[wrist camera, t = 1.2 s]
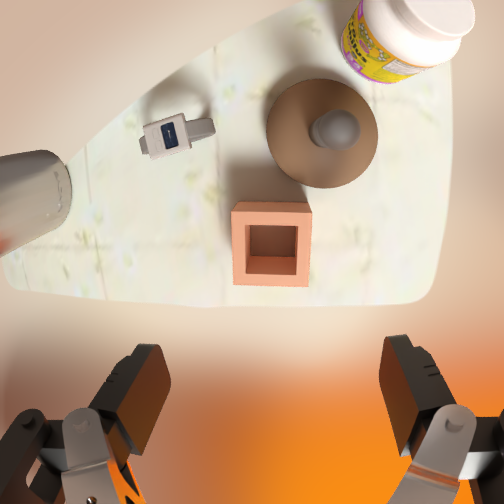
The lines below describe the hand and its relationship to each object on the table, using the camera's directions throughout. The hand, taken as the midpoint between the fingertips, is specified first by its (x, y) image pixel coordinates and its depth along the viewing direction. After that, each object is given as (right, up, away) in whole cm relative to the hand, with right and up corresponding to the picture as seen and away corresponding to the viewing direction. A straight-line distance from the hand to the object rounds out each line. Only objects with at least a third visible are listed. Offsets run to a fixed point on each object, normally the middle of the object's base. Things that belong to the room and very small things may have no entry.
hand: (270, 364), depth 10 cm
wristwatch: (-6, +14, +15) cm, 22 cm away
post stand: (+5, +14, +14) cm, 20 cm away
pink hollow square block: (+1, +5, +17) cm, 18 cm away
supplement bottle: (+10, +21, +11) cm, 26 cm away
